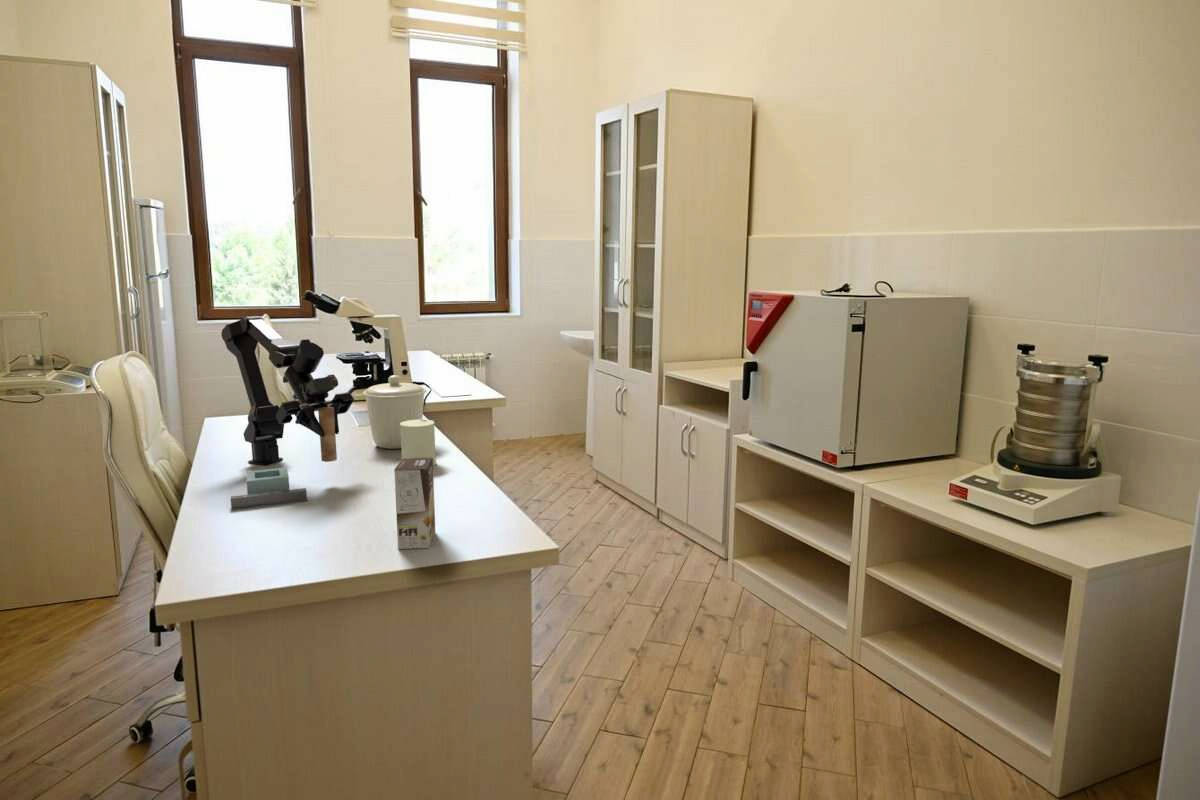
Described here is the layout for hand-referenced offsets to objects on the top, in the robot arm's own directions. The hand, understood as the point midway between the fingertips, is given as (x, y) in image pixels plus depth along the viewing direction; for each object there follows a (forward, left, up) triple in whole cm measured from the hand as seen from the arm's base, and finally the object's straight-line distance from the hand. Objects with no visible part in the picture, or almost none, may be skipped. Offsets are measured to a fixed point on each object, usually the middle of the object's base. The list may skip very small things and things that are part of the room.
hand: (330, 434), depth 195 cm
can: (+8, +24, -13) cm, 29 cm away
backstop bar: (-3, -18, -13) cm, 22 cm away
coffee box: (+43, -24, -13) cm, 50 cm away
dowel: (-1, 0, -7) cm, 7 cm away
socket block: (-8, -13, -13) cm, 20 cm away
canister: (-11, +39, -13) cm, 43 cm away
